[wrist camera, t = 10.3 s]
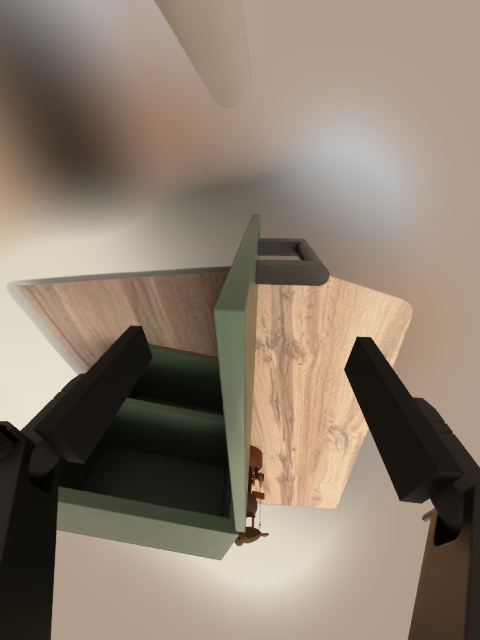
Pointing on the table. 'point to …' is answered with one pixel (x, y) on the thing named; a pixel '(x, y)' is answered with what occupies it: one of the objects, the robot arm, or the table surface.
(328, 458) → the table surface
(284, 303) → the table surface
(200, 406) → the cupboard
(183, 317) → the table surface
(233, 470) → the door
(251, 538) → the music box
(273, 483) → the table surface
